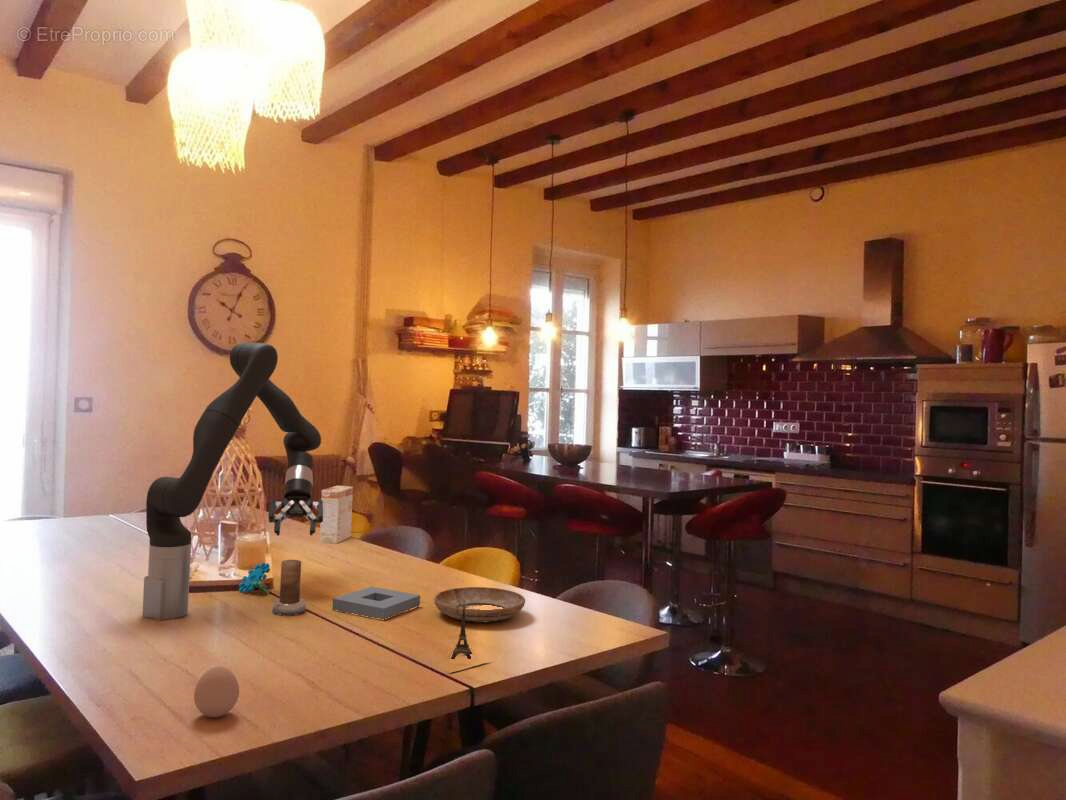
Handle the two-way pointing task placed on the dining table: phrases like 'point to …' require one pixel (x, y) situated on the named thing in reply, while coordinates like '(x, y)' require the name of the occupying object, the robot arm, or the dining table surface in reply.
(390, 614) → the hub block
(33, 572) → the dining table surface
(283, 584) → the peg
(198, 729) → the dining table surface
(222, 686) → the egg
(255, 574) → the blue flower cluster
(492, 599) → the ceramic bowl
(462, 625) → the eiffel tower figurine
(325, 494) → the coffeecake box
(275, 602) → the pedestal
